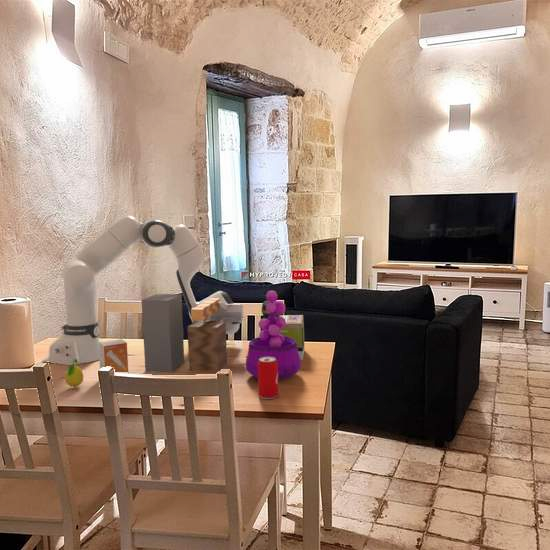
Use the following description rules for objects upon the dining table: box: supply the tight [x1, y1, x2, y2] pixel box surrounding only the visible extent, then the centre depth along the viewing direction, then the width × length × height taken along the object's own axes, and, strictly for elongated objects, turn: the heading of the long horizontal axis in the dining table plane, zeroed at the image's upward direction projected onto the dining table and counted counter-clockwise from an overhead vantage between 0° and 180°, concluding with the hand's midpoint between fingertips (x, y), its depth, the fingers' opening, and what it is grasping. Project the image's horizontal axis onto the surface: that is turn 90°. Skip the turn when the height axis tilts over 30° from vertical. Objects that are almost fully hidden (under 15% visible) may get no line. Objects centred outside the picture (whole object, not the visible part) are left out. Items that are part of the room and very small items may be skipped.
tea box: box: [279, 314, 305, 361], centre depth 209 cm, size 15×10×15 cm, turn 175°
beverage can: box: [257, 357, 280, 400], centre depth 165 cm, size 6×6×12 cm
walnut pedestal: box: [187, 320, 228, 372], centre depth 197 cm, size 11×11×16 cm
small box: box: [99, 338, 129, 373], centre depth 185 cm, size 8×6×13 cm
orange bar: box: [190, 298, 220, 322], centre depth 195 cm, size 22×4×4 cm, turn 170°
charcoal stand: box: [141, 293, 185, 373], centre depth 197 cm, size 13×10×26 cm
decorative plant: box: [245, 290, 302, 381], centre depth 182 cm, size 19×18×30 cm
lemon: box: [64, 358, 84, 389], centre depth 177 cm, size 7×6×10 cm
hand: (212, 303), depth 202 cm, fingers closed on orange bar, 4 cm apart
